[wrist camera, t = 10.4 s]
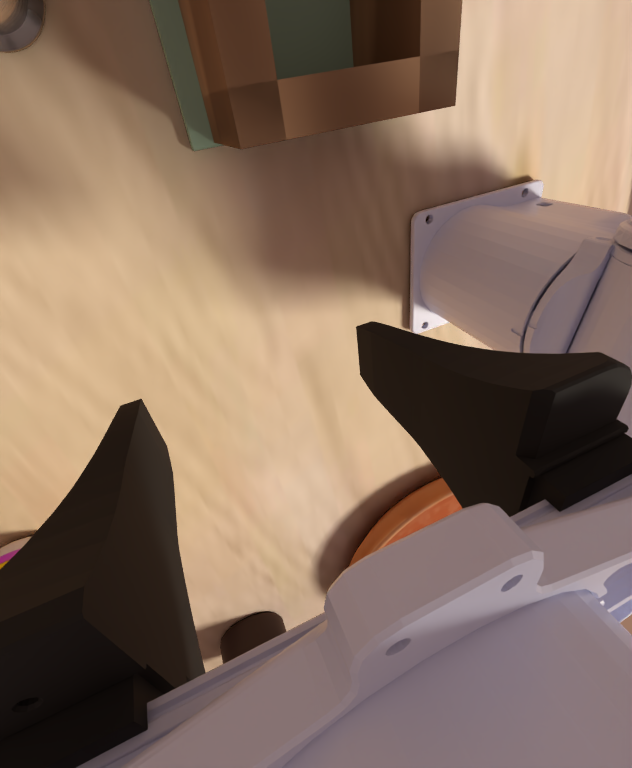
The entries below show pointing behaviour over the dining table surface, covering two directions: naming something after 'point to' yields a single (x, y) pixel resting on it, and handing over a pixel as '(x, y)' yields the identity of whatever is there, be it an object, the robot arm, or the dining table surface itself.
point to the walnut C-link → (327, 89)
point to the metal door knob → (20, 23)
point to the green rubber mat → (289, 44)
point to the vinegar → (250, 634)
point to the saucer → (410, 517)
